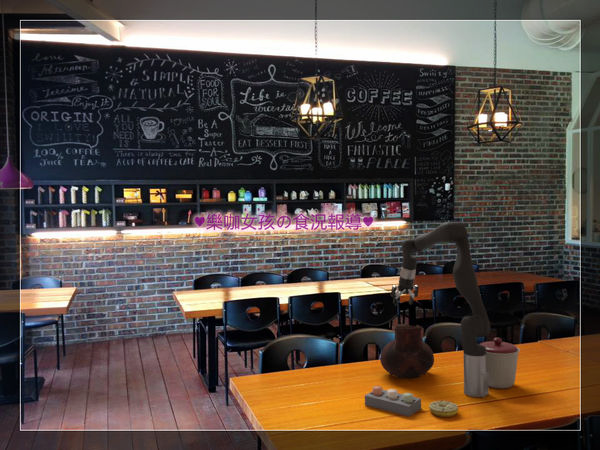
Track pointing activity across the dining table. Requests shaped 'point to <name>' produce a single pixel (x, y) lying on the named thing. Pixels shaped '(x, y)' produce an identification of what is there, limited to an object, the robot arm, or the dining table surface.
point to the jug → (407, 353)
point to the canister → (501, 363)
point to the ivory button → (392, 394)
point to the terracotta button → (377, 390)
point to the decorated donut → (443, 409)
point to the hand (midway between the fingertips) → (402, 304)
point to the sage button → (408, 398)
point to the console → (393, 403)
